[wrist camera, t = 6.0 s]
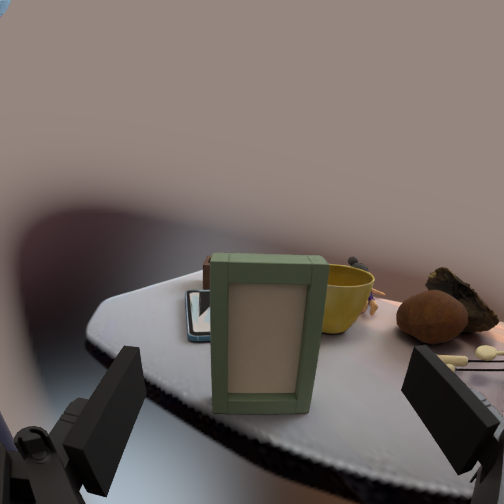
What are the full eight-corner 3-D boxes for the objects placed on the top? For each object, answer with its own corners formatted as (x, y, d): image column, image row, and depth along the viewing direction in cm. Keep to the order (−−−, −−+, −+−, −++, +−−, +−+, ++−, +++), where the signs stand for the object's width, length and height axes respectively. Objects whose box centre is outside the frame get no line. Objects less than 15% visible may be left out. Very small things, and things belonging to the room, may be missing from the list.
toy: (395, 327, 43) (374, 293, 58) (410, 294, 42) (384, 266, 56) (333, 307, 44) (324, 276, 58) (347, 272, 42) (335, 249, 57)
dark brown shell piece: (485, 301, 30) (452, 346, 32) (515, 322, 31) (486, 361, 33) (430, 251, 45) (408, 286, 47) (463, 272, 46) (441, 305, 48)
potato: (400, 285, 41) (382, 298, 36) (470, 282, 33) (463, 296, 29) (402, 332, 41) (385, 351, 36) (469, 333, 34) (462, 354, 29)
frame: (212, 413, 24) (209, 260, 21) (214, 395, 26) (213, 252, 23) (308, 412, 24) (330, 264, 21) (304, 395, 26) (321, 255, 23)
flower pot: (277, 317, 43) (280, 267, 41) (333, 306, 47) (338, 260, 46) (322, 350, 34) (330, 291, 32) (381, 331, 39) (390, 279, 37)
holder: (203, 290, 53) (202, 265, 52) (207, 279, 59) (207, 255, 58) (264, 292, 53) (265, 266, 52) (261, 280, 59) (263, 257, 58)
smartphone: (187, 337, 35) (184, 290, 49) (188, 344, 35) (184, 295, 49) (250, 333, 37) (231, 288, 51) (250, 340, 37) (230, 294, 51)
